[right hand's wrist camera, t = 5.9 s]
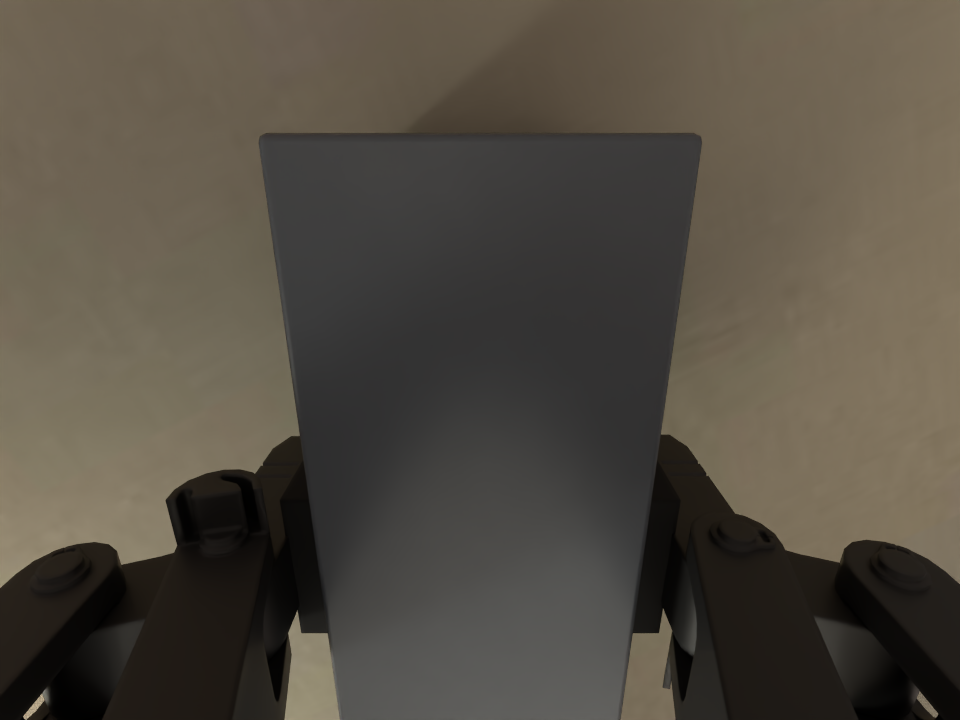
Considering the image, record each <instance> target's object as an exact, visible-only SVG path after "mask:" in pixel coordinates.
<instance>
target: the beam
mask: <svg viewBox="0 0 960 720" xmlns="http://www.w3.org/2000/svg"><path fill="white" fill-rule="evenodd" d="M701 146H702V141H701V137H700V136H699V135H697V134H695V133H266V134H264V135H262V136H260V139H259V148H260V155H261V162H262V169H263V176H264V184H265V191H266V198H267V205H268V212H269V219H270V226H271V233H272V240H273V247H274V255H275V262H276V269H277V276H278V283H279V290H280V297H281V304H282V311H283V318H284V325H285V333H286V340H287V347H288V354H289V361H290V368H291V375H292V382H293V389H294V396H295V404H296V411H297V418H298V425H299V432H300V439H301V446H302V453H303V460H304V467H305V474H306V482H307V489H308V496H309V503H310V510H311V517H312V524H313V531H314V538H315V545H316V553H317V560H318V567H319V574H320V581H321V588H322V595H323V602H324V609H325V616H326V623H327V631H328V638H329V645H330V652H331V659H332V666H333V673H334V680H335V687H336V694H337V702H338V709H339V716H340V720H620V719H621V711H622V704H623V697H624V690H625V683H626V676H627V669H628V662H629V655H630V648H631V641H632V634H633V627H634V620H635V612H636V605H637V598H638V591H639V584H640V577H641V570H642V563H643V556H644V549H645V542H646V535H647V528H648V521H649V513H650V506H651V499H652V492H653V485H654V478H655V471H656V464H657V457H658V450H659V443H660V436H661V429H662V421H663V414H664V407H665V400H666V393H667V386H668V379H669V372H670V365H671V358H672V351H673V344H674V337H675V330H676V322H677V315H678V308H679V301H680V294H681V287H682V280H683V273H684V266H685V259H686V252H687V245H688V238H689V231H690V223H691V216H692V209H693V202H694V195H695V188H696V181H697V174H698V167H699V160H700V153H701Z"/></svg>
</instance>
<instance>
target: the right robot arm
mask: <svg viewBox="0 0 960 720" xmlns="http://www.w3.org/2000/svg"><path fill="white" fill-rule="evenodd" d="M166 504H167V508H168V511H169V515H170V519H171V523H172V527H173V531H174V535H175V538H176V542H177V548H176V550H175V552H174V553H172V554H168V555H165V556H161V557H156V558H152V559H147V560H142V561H138V562H133V563H128V564H124V565H121V563H120V560H119V556H118V553H117V551H116V550H115V549H114V548H113V547H111V546H110V545H109V544H103V543H97V542H92V543H83V544H76V545H72V546H68V547H66V548H61V549H58V550H56V551H53V552H51V553H50V554H47V555H45V556H43V557H41V558H39V559H37V560H35V561H33V562H32V563H31V564H29V565H28V566H27V567H25V568H24V569H22V570H21V571H20V572H18V573H17V574H16V575H14V576H13V577H12V578H11V579H10V580H9V581H8V582H7V583H6V584H4V585H3V586H2V587H1V588H0V720H25V719H24V718H23V716H24V714H25V713H26V712H27V711H28V710H29V708H30V707H31V706H32V705H33V704H34V702H35V701H36V700H37V699H38V697H39V696H40V695H41V694H42V695H43V697H44V699H45V701H44V702H43V703H42V704H41V706H40V707H39V708H38V709H37V711H36V712H35V713H34V714H32V715H31V716H30V717H29V718H28V719H27V720H284V718H285V709H286V700H287V691H288V682H289V673H290V663H291V648H290V641H289V636H288V632H289V629H290V627H291V624H292V622H293V619H294V617H295V615H296V612H297V610H298V615H299V621H300V627H301V633H328V631H327V623H326V616H325V609H324V602H323V595H322V588H321V581H320V574H319V567H318V560H317V553H316V545H315V538H314V531H313V524H312V517H311V510H310V503H309V496H308V489H307V482H306V474H305V467H304V460H303V453H302V446H301V439H300V436H291V437H290V438H288V439H287V440H285V441H284V442H282V443H281V444H279V445H278V446H276V447H275V448H273V449H272V451H271V452H270V454H269V455H268V457H267V458H266V459H265V461H264V462H263V466H260V468H259V469H258V471H257V472H256V474H254V473H252V472H248V471H244V470H221V471H216V472H211V473H207V474H204V475H201V476H199V477H196V478H194V479H191V480H189V481H187V482H186V483H184V484H183V485H181V486H179V487H178V488H176V489H175V490H174V491H173V492H172V493H171V494H170V496H169V497H168V498H167V499H166ZM663 609H664V611H665V614H666V616H667V618H668V621H669V623H670V626H671V628H672V636H671V641H670V647H669V653H668V658H667V664H666V669H665V675H664V682H663V688H667V689H670V685H671V680H672V690H673V699H674V708H675V717H676V720H960V584H959V583H958V582H956V581H955V580H954V579H953V578H952V577H951V576H950V575H949V574H947V573H946V572H945V571H944V570H942V569H941V568H940V567H938V566H937V565H935V564H934V563H933V562H931V561H930V560H928V559H927V558H925V557H923V556H921V555H919V554H917V553H914V552H912V551H911V550H909V549H907V548H904V547H901V546H896V545H895V544H890V543H887V542H880V541H871V540H863V541H857V542H852V543H851V544H849V545H848V546H847V547H846V548H845V549H844V551H843V555H842V558H841V561H840V563H838V562H833V561H829V560H824V559H819V558H814V557H810V556H805V555H800V554H797V553H793V552H790V551H786V550H785V549H784V547H783V545H782V543H781V542H780V541H779V539H778V538H777V536H776V535H775V534H774V533H773V532H772V531H770V530H769V529H768V528H766V527H765V526H764V525H762V524H761V523H759V522H756V521H754V520H752V519H750V518H748V517H746V516H742V515H738V514H735V513H734V511H733V510H732V509H731V507H730V506H729V504H728V503H727V502H726V500H725V499H724V497H723V496H722V495H721V493H720V492H719V490H718V489H717V488H716V486H715V485H714V483H713V482H712V481H711V479H710V478H709V476H706V472H705V471H704V469H703V468H702V467H701V465H700V464H698V461H697V460H696V458H695V457H694V455H693V454H692V453H691V451H690V450H689V448H688V447H687V446H685V445H684V444H682V443H681V442H679V441H678V440H676V439H675V438H673V437H672V436H671V435H661V436H660V443H659V450H658V457H657V464H656V471H655V478H654V485H653V492H652V499H651V506H650V513H649V521H648V528H647V535H646V542H645V549H644V556H643V563H642V570H641V577H640V584H639V591H638V598H637V605H636V612H635V620H634V627H633V633H659V629H660V623H661V617H662V611H663ZM919 691H920V692H921V693H922V694H923V695H924V697H925V698H926V699H927V700H928V701H929V703H930V704H931V705H932V706H933V708H934V709H935V710H936V711H937V712H938V716H937V718H934V717H933V716H932V715H931V714H930V713H929V712H928V711H927V710H926V709H925V708H924V707H923V706H922V705H921V703H920V702H919V701H918V700H917V696H918V694H919Z"/></svg>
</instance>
